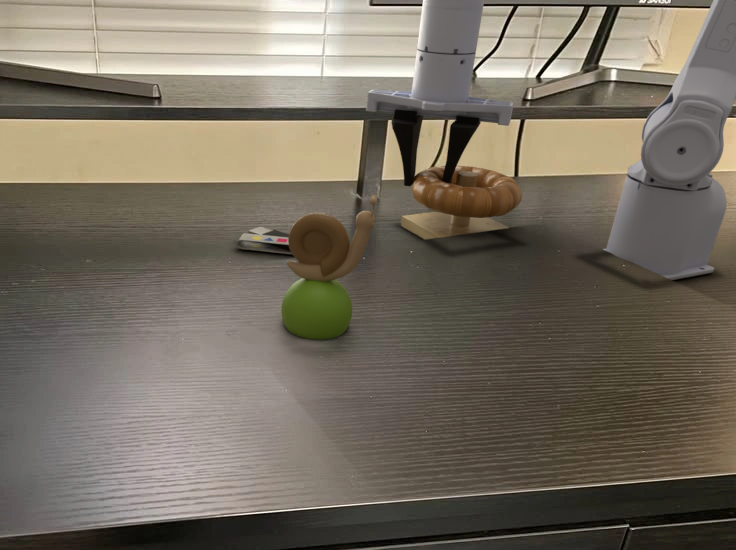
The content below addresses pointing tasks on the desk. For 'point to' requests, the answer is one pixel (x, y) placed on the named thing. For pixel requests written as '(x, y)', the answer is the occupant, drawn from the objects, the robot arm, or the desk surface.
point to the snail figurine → (323, 273)
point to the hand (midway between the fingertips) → (426, 186)
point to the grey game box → (265, 241)
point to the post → (449, 218)
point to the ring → (466, 193)
